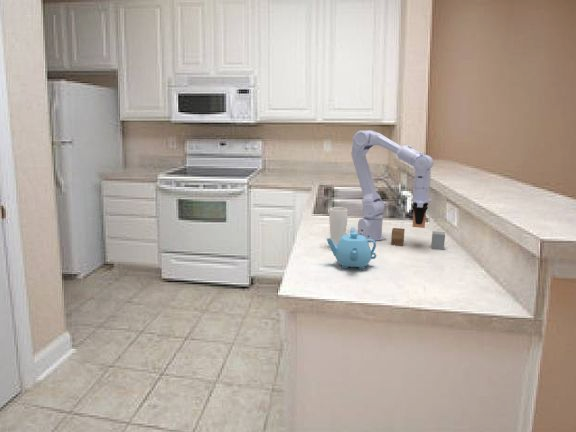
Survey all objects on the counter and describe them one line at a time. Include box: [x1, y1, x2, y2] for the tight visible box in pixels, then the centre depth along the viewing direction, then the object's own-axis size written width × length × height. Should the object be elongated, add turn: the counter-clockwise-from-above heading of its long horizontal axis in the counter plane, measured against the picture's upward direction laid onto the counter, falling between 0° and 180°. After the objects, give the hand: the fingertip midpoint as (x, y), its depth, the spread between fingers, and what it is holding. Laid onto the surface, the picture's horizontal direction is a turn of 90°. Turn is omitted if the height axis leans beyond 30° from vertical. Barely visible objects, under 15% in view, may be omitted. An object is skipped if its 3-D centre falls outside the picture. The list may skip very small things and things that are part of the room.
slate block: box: [430, 230, 446, 251], centre depth 167 cm, size 4×4×6 cm
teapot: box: [326, 227, 377, 271], centre depth 145 cm, size 15×14×11 cm
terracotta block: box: [412, 211, 427, 229], centre depth 167 cm, size 4×4×6 cm
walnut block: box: [390, 227, 405, 247], centre depth 171 cm, size 4×4×6 cm
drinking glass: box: [328, 206, 349, 246], centre depth 165 cm, size 7×7×15 cm
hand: (418, 222), depth 168 cm, fingers closed on terracotta block, 4 cm apart
